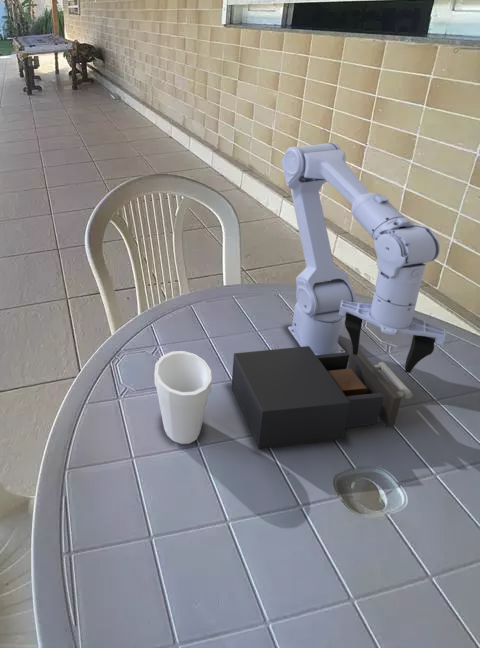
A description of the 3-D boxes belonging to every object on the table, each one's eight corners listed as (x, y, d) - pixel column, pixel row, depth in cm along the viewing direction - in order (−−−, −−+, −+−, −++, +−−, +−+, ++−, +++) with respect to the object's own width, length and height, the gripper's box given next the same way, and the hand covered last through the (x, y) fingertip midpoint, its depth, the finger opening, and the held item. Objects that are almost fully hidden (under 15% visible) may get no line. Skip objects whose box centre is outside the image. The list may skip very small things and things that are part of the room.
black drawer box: (303, 379, 83) (309, 345, 80) (342, 439, 71) (350, 402, 68) (231, 387, 83) (233, 353, 80) (258, 448, 71) (262, 411, 68)
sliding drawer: (372, 372, 83) (378, 345, 80) (417, 424, 72) (426, 395, 70) (284, 381, 82) (288, 354, 80) (316, 435, 72) (322, 406, 69)
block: (324, 388, 79) (327, 370, 77) (347, 386, 79) (350, 368, 77) (338, 409, 75) (342, 390, 73) (362, 406, 75) (366, 388, 73)
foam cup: (213, 414, 77) (216, 360, 73) (203, 461, 70) (205, 402, 65) (163, 398, 81) (163, 345, 77) (148, 440, 74) (146, 384, 69)
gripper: (341, 294, 70) (330, 358, 75) (453, 324, 62) (433, 394, 67) (346, 273, 75) (336, 334, 80) (451, 299, 67) (432, 365, 72)
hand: (380, 359), depth 74 cm, fingers open, 7 cm apart
